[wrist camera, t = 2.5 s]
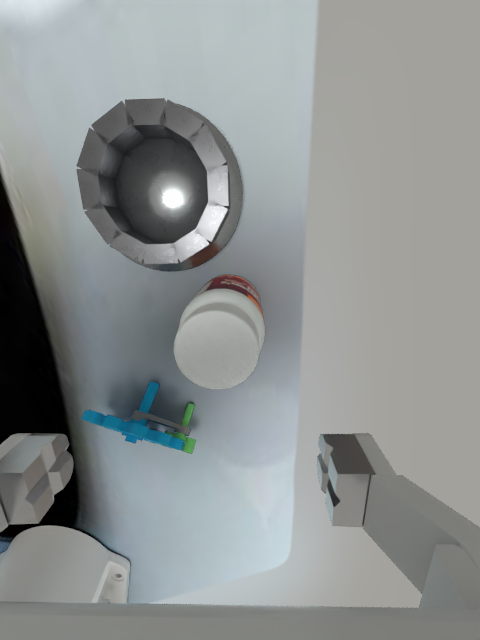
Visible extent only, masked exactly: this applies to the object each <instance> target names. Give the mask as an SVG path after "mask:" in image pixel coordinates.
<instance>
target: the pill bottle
mask: <svg viewBox="0 0 480 640" xmlns="http://www.w3.org/2000/svg"><path fill="white" fill-rule="evenodd" d="M264 339H265V324H264V317H263V312H262V307H261V302H260V298H259V295H258V293H257V291H256V289H255V288H254V287H253V286H252V284H251V283H249V282H248V281H247V280H245V279H243V278H241V277H239V276H235V275H222V276H218V277H216V278H213V279H212V280H210V281H209V282H207V283H206V284H205V285H204V286H203V287H202V289H201V290H200V291H199V292H198V293H197V295H196V296H195V297H194V298H193V299H192V301H191V302H190V303H189V304H188V305H187V306H186V308H185V310H184V312H183V314H182V316H181V319H180V323H179V330H178V332H177V334H176V337H175V341H174V356H175V360H176V363H177V365H178V367H179V369H180V370H181V372H182V373H183V374H184V375H185V376H186V377H187V378H188V379H189V380H190V381H192V382H193V383H195V384H197V385H199V386H201V387H204V388H208V389H215V390H221V389H228V388H231V387H234V386H236V385H239V384H240V383H242V382H243V381H245V380H246V379H247V378H248V377H249V376H250V375H251V374H252V372H253V371H254V369H255V367H256V365H257V362H258V359H259V352H260V351H261V349H262V346H263V343H264Z"/></svg>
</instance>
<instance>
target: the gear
mask: <svg viewBox="0 0 480 640" xmlns="http://www.w3.org/2000/svg"><path fill="white" fill-rule="evenodd" d="M158 388H159V384H157V383H155V382H150V384H149V386H148V388H147V391H146V393H145V395H144V398H143V400H142V402H141V405H140V407H139V409H138V410H134V413H133V415H132V417H131V420H130V422H129V421H127V422H125V421H122V419H120V418H117V417H114V416H111V415H107V416H105V415H103V414H101V413H98V412H95V411H91V410H89V411H87V410H85V412H84V414H83V416H82V418H81V419H82V420H85V421H89V422H90V423H93V424H96V425H100V426H103V427H105V428H108V429H111V430H114V431H118V432H122V435H125V436H127V437H126V439H125V441H129V442H132V443H136V441H137V439H138V440H141V441H142V440H143V439H144V440H146V441H149V442H153V443H158V444H161V445H163V446H166V447H170V448H174V449H177V450H181V451H184V452H187V453H191V454H192V452H193V449H194V445H195V442H196V440H195V439H192V438H188V437H186V436H189V434H190V431H191V428H188V424H189V421H190V418H191V415H192V412H193V409H194V406H195V405H193V404H190V403H188V406H187V409H186V411H185V414H184V417H183V420H182V423H181V425H180V424H177V423H174V422H171V421H168V420H165V419H162V418H159V417H156V416H153V415H150V414H148V412H149V409H150V407H151V405H152V402H153V400H154V397H155V395H156V392H157V390H158ZM148 420H150V421H153V422H156V423H159V424H162V425H165V426H168V427H171V428H174V432H177V433H176V434H174V433H171V432H168V431H165V433H163V432H159V431H155V430H151V429H149V428H148V427H146V425H147V422H148ZM183 441H185V443H184V442H183ZM183 445H184V446H183ZM182 448H183V449H182Z"/></svg>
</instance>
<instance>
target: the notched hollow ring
mask: <svg viewBox="0 0 480 640" xmlns="http://www.w3.org/2000/svg"><path fill="white" fill-rule="evenodd" d="M92 127H93V128H94V130H95V131H96V132H95V131H94V130H92V129H90V128H89V130H88V133H87V136H86V139H85V142H84V145H83V148H82V151H81V154H80V157H79V160H78V163H77V166H78V167H80V168H82V169H77V175H78V181H79V187H80V193H81V198H82V204H83V209H86V210H87V211H86V212H85V214H86V215H87V216H88V218H89V219H90V221H91V222H92V223H93V225H94V226H95V228H96V229H97V230H98V232H99V233H100V235H101V236H102V237H103V239H104V240H105V242H106V243H107V244H110V247H112V248H114V249H116V250H118V251H120V252H121V253H122V254H123V255H125V256H126V257H127V258H129V259H131V260H132V261H134V262H136V263H138V264H140V265H142V266H145V267H148V268H151V269H155V270H160V271H182V270H186V269H190V268H193V267H196V266H199V265H201V264H202V263H204V262H206V261H208V260H209V259H211V258H212V257H213V256H215V255H216V254H217V253H218V252H219V251H220V250H221V249H222V248H223V247H224V246H225V245H226V243H227V242H228V241H229V239H230V237H231V236H232V234H233V232H234V230H235V228H236V226H237V223H238V220H239V216H240V212H241V206H242V181H241V176H240V171H239V167H238V164H237V161H236V158H235V156H234V154H233V151H232V149H231V147H230V146H229V144H228V142H227V141H226V139H225V138H224V136H223V135H222V134H221V133H220V131H219V130H218V129H217V128H216V127H215V126H214V125H213V124H212V123H211V122H210V121H209V120H207V119H206V118H205V117H203V116H202V115H201V114H199V113H197V112H195V111H193V110H192V109H190V108H187V107H185V106H182V105H179V104H174V103H173V102H171V101H169V100H167V102H166V100H165V99H164V98H163V99H133V100H125V104H124V103H123V102H122V101H121V102H120V103H118V104H117V105H116V106H115V107H113V108H112V109H111V110H110V111H108V112H107V113H106V114H105V115H103V116H102V117H101V118H99V119H98V120H97V121H96V122H94V123H93V124H92Z"/></svg>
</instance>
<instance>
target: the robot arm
mask: <svg viewBox="0 0 480 640" xmlns="http://www.w3.org/2000/svg"><path fill="white" fill-rule="evenodd" d="M68 445H69V443H68V439H67V436H65V435H63V434H39V433H33V434H29V433H17V434H14V435H11V436H10V437H9V438H8V439H7V440H5V441H4V442H3V443H2V444H1V445H0V532H1V531H3V530H4V529H5V528H6V527H8V524H38V523H39V522H40V520H41V519H42V518H43V516H44V515H45V514H46V512H47V511H48V509H49V508H50V507H51V505H52V504H53V502H54V495H55V494H56V493H58V492H59V491H61V490H62V489H64V487H65V486H66V484H67V483H68V481H69V479H70V477H71V474H72V471H73V459H72V456H71V455H70V454H69V453H68V452H67V451H66V449H67V447H68ZM318 445H319V448H320V451H321V453H320V454H319V455H318V456H317V472H318V479H319V483H320V487H321V490H322V491H323V492H324V493H325V494H326V502H325V504H326V508H327V511H328V514H329V518H330V521H331V524H332V526H347V527H363V529H364V530H365V531H366V533H367V534H368V535H369V536H370V537H371V538H372V539H373V540H374V542H375V543H376V544H377V545H378V546H379V547H380V548H381V549H382V550H383V552H385V554H386V555H387V556H388V557H389V558H390V559H391V560H392V561H393V563H394V564H395V565H396V566H397V567H398V568H399V569H400V570H401V571H402V573H403V574H404V575H405V576H406V577H407V578H408V579H409V580H410V581H411V582H412V584H413V585H414V586H415V587H416V588H417V589H418V590H419V591H420V592H421V594H422V598H421V601H420V605H419V608H390V607H387V608H386V607H384V608H383V607H324V606H317V607H316V606H258V605H257V606H256V605H193V604H192V605H191V604H190V605H189V604H188V605H187V604H127V599H128V587H129V575H130V562H129V561H128V560H127V559H125V558H124V557H121V556H119V555H117V554H115V553H112V552H110V551H109V550H107V549H106V548H105V547H104V546H102V545H101V544H100V543H99V542H98V541H96V540H95V539H93V538H92V537H90V536H88V535H86V534H84V533H82V532H80V531H77V530H74V529H71V528H67V527H61V526H38V527H33V528H30V529H27V530H25V531H23V532H21V533H20V534H18V535H17V536H16V537H15V538H14V539H13V540H12V542H11V544H10V546H9V547H8V549H7V550H6V551H5V552H3V553H1V554H0V640H480V527H479V526H477V525H475V524H474V523H473V522H471V521H470V520H468V519H467V518H465V517H464V516H462V515H461V514H459V513H458V512H456V511H455V510H453V509H452V508H450V507H449V506H447V505H446V504H444V503H443V502H441V501H440V500H438V499H437V498H435V497H434V496H432V495H431V494H429V493H428V492H426V491H425V490H423V489H422V488H420V487H419V486H417V485H416V484H414V483H413V482H412V481H410V480H409V479H407V478H405V477H404V476H403V475H396V473H395V472H394V470H393V469H392V467H391V465H390V464H389V462H388V460H387V459H386V457H385V456H384V454H383V453H382V451H381V449H380V448H379V446H378V445H377V443H376V442H375V440H374V438H373V437H372V435H370V434H369V433H355V434H354V433H353V434H320V436H319V444H318Z"/></svg>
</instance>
